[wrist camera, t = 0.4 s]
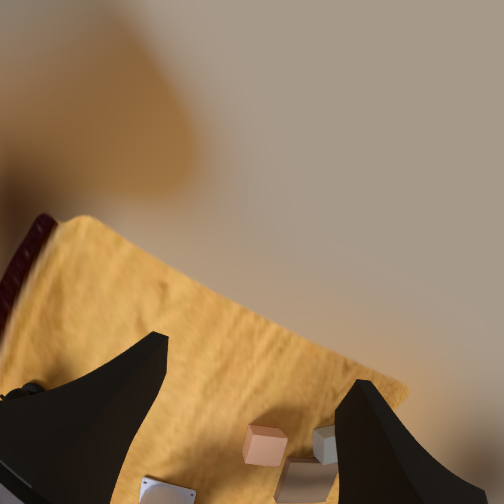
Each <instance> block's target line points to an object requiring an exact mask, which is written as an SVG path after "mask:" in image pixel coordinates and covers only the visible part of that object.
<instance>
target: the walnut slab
mask: <svg viewBox="0 0 504 504" xmlns="http://www.w3.org/2000/svg"><path fill="white" fill-rule="evenodd" d="M337 471H338V462H335V463H331V464H327V465H323V464H322V463H321V462H320V461H319V460H318V459H317V458H292V457H286V461H285V464H284V467H283V470H282V473H281V476H280V479H279V482H278V485H277V488H276V491H275V493H274V496H273V497H274V499H275V501H276V503H317V502H326V499H327V497H328V494H329V492H330V490H331V487H332V485H333V482H334V479H335V477H336V474H337Z"/></svg>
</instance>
